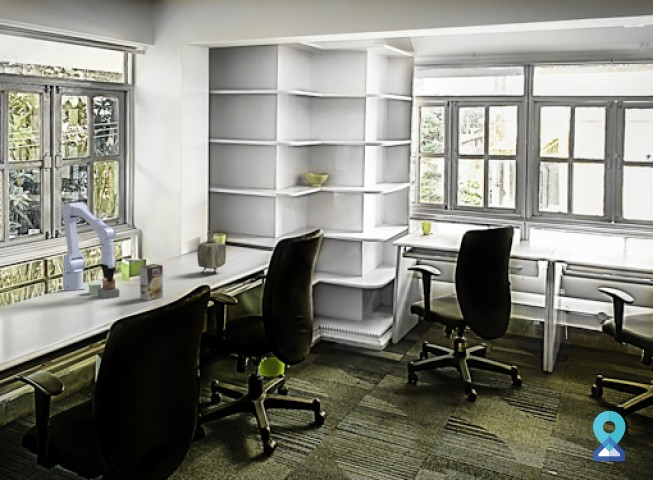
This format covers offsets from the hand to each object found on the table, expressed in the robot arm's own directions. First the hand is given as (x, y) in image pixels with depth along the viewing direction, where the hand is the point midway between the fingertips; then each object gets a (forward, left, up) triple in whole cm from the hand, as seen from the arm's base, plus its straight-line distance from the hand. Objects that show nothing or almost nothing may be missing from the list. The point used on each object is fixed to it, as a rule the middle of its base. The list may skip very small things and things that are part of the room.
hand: (108, 279), depth 352 cm
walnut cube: (0, 0, -5) cm, 5 cm away
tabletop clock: (+63, +28, -8) cm, 69 cm away
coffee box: (+18, -12, -8) cm, 23 cm away
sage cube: (-5, +8, -8) cm, 13 cm away
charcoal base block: (0, 0, -9) cm, 8 cm away
